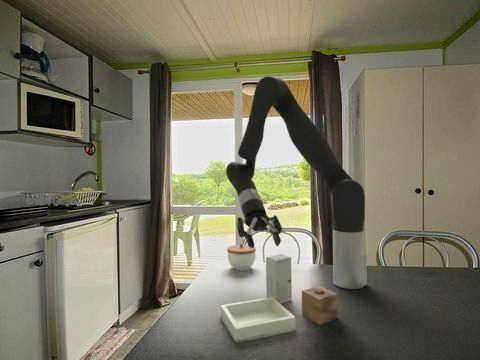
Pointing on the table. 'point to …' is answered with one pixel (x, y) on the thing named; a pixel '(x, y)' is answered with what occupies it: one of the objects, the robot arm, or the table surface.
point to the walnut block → (319, 304)
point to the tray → (257, 319)
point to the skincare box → (279, 278)
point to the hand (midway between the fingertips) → (265, 245)
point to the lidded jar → (241, 256)
